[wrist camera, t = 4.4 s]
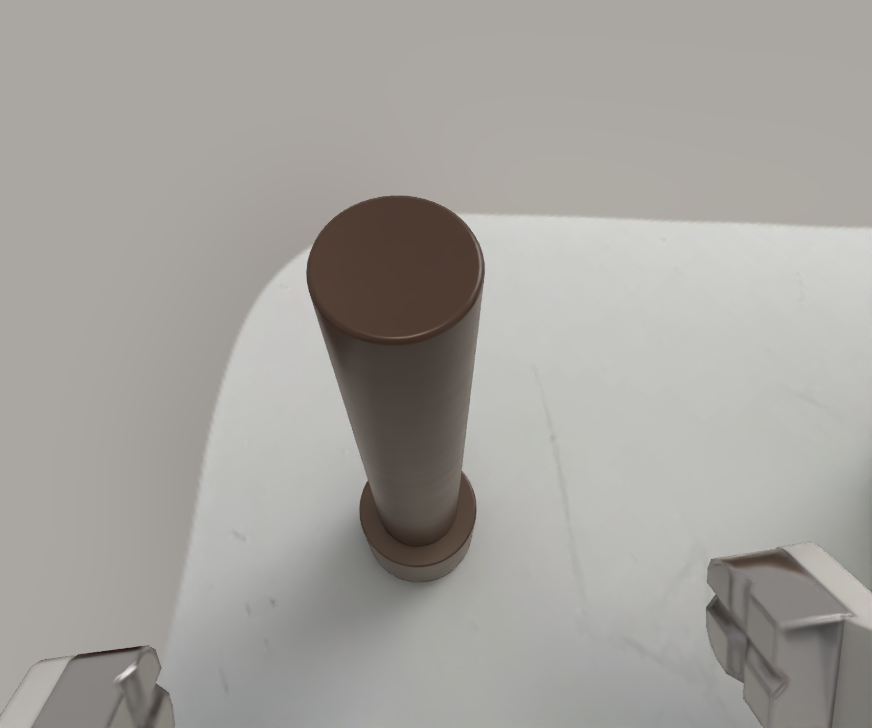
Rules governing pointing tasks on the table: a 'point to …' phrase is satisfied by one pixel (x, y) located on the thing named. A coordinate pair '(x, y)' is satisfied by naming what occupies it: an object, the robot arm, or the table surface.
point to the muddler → (404, 370)
